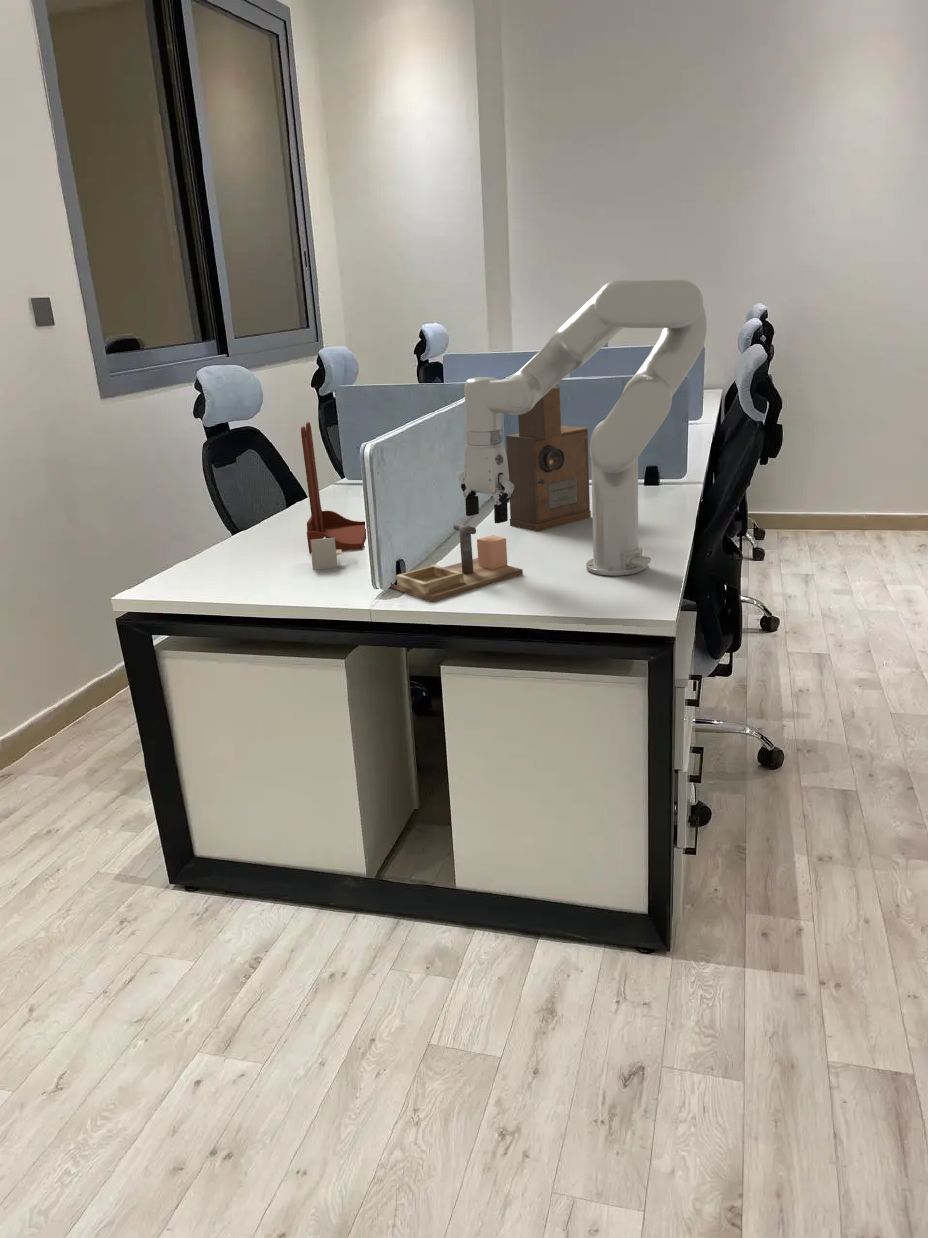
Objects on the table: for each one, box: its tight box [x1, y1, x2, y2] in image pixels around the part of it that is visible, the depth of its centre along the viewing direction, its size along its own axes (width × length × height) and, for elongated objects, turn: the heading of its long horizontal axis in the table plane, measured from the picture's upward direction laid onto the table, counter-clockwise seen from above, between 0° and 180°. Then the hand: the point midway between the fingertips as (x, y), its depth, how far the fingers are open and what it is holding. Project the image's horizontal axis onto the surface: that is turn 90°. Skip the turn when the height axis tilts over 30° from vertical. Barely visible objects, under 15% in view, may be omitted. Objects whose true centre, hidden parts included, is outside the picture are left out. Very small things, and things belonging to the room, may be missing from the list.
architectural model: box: [310, 537, 343, 570], centre depth 216 cm, size 3×7×7 cm, turn 98°
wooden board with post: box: [390, 523, 524, 603], centre depth 196 cm, size 15×24×12 cm, turn 128°
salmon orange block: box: [476, 534, 508, 569], centre depth 202 cm, size 4×4×6 cm
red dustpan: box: [300, 421, 367, 554], centre depth 236 cm, size 24×13×30 cm, turn 1°
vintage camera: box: [505, 386, 592, 533], centre depth 236 cm, size 19×14×35 cm
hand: (486, 518), depth 200 cm, fingers open, 9 cm apart
